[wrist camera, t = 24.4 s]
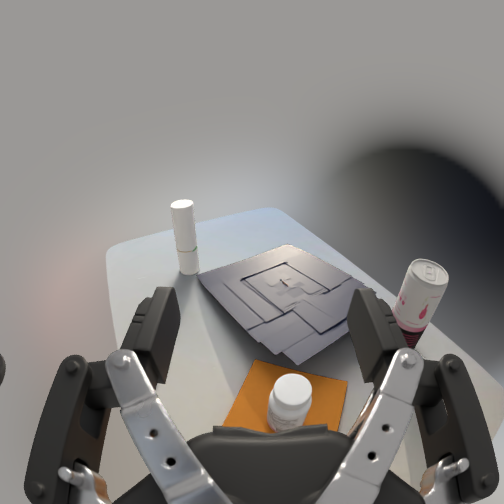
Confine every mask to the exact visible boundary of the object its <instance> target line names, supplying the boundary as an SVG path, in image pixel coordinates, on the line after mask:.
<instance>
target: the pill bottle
mask: <svg viewBox="0 0 504 504" xmlns="http://www.w3.org/2000/svg"><path fill="white" fill-rule="evenodd" d="M311 393H312V387H311V384H310V382H309V381H308V380H307V379H306V378H305V377H303V376H302V375H299V374H286V375H284V376H282V377H280V378H279V379H278V380H277V381H276V383H275V385H274V388H273V389H272V391H271V393H270V396H269V403H268V412H267V422H268V424H269V426H270V428H271V429H272V430H274V431H275V432H280V431H284V430H288V429H291V428H295V427H298V426H302V425H303V423H304V421H305V418H306V415H307V413H308V411H309V409H310V406H311V402H312V397H311Z"/></svg>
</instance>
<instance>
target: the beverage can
mask: <svg viewBox="0 0 504 504" xmlns="http://www.w3.org/2000/svg"><path fill="white" fill-rule="evenodd" d="M448 279H449V278H448V274H447V272H446V271H445V270H444V268H442V267H441V266H440V265H438V264H437V263H435V262H433V261H430V260H426V259H416V260H414V261H413V262H412V263H411V265H410V266H409V268H408V271H407V274H406V276H405V279H404V282H403V285H402V287H401V290H400V292H399V295H398V297H397V300H396V302H395V305H394V307H393V309H392V312H393V316H394V317H395V319H396V321H397V323H398V325H399V327H400V329H401V331H402V334H403V336H404V338H405V340H406V343H407V345H408V347H409V348H411V349H414V348H415V346H416V344H417V343H418V341H419V339H420V337H421V336H422V334H423V332H424V330H425V329H426V327H427V325H428V323H429V321H430V319H431V318H432V316H433V314H434V312H435V310H436V308H437V306H438V304H439V302H440V300H441V298H442V296H443V294H444V291H445V289H446V287H447V285H448Z"/></svg>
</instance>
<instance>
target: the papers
mask: <svg viewBox="0 0 504 504" xmlns="http://www.w3.org/2000/svg"><path fill="white" fill-rule="evenodd" d="M196 276H197V277H198V279H199V280H200V281H201V283H202V284H203V285H204V287H205V288H206V289H207V290H208V291H209V292H210V293H211V294H212V295H213V296H214V297H215V298H216V299H217V300H218V301H219V303H220V304H221V305H222V306H223V307H224V308H225V309H226V310H227V311H228V312H229V313H230V314H231V315H232V316H233V318H234V319H235V320H236V321H237V322H238V323H239V324H240V325H241V326H242V327H243V328H244V329H245V330H246V331H247V332H248V333H249V334H250V335H251V336H252V337H253V338H254V339H255V340H256V341H257V342H258V343H259V342H262V343H263V344H264V345H265V346H266V347H267V348H268V349H269V350H270V351H271V352H272V353H273V354H274V355H276V354H278V353H280V352H283V353H284V354H285V355H286V356H288V357H289V358H290V359H291V360H292V361H293V362H294V363H295V364H297V365H299V364H301V363H303V362H304V361H306V360H307V359H309V358H310V357H312V356H313V355H315V354H317V353H318V352H320V351H321V350H323V349H324V348H326V347H327V346H329V345H330V344H331V343H333V342H334V341H336V340H337V339H339V338H340V337H342V336H343V335H344V334H346V333H347V332H349V328H348V325H347V314H348V310H349V307H350V303H351V300H352V297H353V293H354V291H355V289H357V288H368V287H366V286H364V285H363V284H364V283H362V282H360V281H358V280H357V279H355V278H353V277H352V276H351V275H349V274H347V273H345V272H344V271H342V270H340V269H338V268H336V267H334V266H332V265H330V264H329V263H327V262H325V261H323V260H321V259H319V258H317V257H315V256H313V255H311V254H310V253H308V252H305V251H303V250H301V249H299V248H295V247H293V246H291V245H289V244H285V245H283V246H280V247H277V248H275V249H272V250H269V251H267V252H264V253H262V254H259V255H256V256H254V257H251V258H248V259H245V260H242V261H239V262H236V263H233V264H230V265H227V266H224V267H220V268H217V269H214V270H211V271H208V272H205V273H202V274H199V275H196ZM374 293H375V294H376V292H375V291H374ZM377 299H378V298H377Z"/></svg>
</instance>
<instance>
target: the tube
mask: <svg viewBox="0 0 504 504" xmlns="http://www.w3.org/2000/svg"><path fill="white" fill-rule="evenodd" d="M171 213H172V221H173V228H174V235H175V241H176V248H177V254H178V260H179V266H180V272H181V273H182V274H184V275H193V274H196V273H197V272H198V271H199V270H200V265H199V257H198V249H197V240H196V230H195V221H194V210H193V202H192V201H190V200H178V201H175V202H173V203H172V204H171Z"/></svg>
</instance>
